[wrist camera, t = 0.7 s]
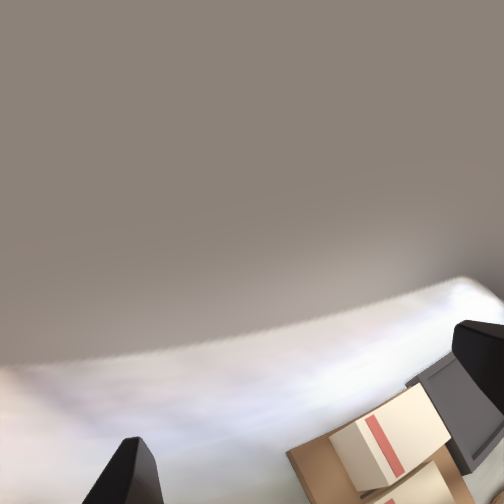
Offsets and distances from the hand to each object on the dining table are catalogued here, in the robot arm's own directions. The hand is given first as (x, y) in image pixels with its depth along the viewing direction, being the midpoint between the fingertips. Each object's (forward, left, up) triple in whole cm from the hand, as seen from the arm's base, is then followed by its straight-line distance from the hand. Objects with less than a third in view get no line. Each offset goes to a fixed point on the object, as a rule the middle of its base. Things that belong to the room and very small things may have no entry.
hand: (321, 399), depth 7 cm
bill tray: (-5, -21, -16) cm, 27 cm away
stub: (-3, -9, -15) cm, 18 cm away
